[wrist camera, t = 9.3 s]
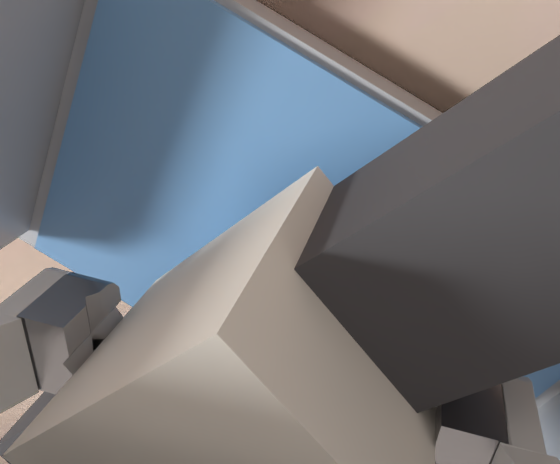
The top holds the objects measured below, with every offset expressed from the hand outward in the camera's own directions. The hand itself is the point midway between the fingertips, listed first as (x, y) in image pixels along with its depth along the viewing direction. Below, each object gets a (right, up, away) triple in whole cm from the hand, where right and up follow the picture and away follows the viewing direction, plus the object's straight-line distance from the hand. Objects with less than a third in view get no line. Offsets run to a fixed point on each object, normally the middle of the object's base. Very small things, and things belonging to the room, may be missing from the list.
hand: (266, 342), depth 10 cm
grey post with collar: (0, +1, +1) cm, 2 cm away
